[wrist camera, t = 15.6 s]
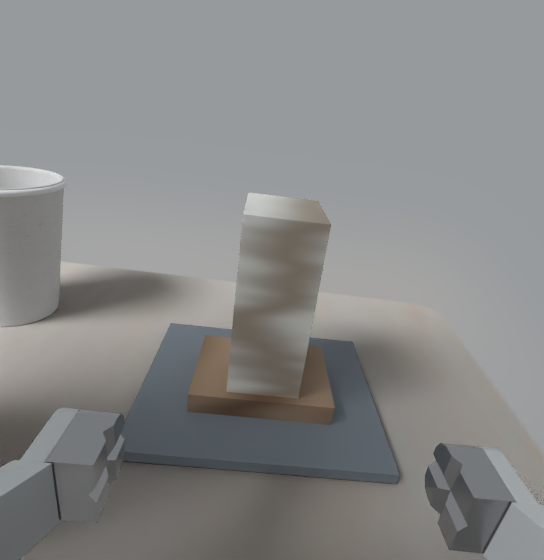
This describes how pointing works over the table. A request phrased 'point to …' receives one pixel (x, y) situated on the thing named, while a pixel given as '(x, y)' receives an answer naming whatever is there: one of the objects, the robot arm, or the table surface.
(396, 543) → the table surface
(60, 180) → the dixie cup
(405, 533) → the table surface
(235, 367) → the pale pillar on plinth
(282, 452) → the slate mat
